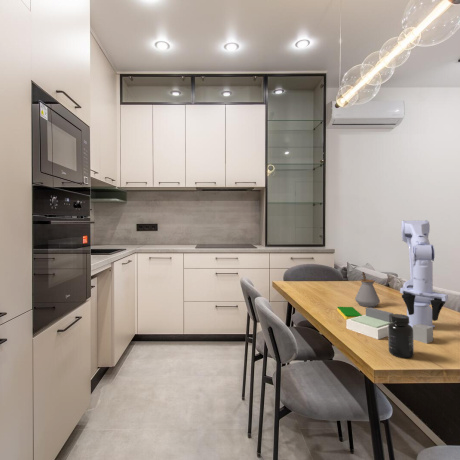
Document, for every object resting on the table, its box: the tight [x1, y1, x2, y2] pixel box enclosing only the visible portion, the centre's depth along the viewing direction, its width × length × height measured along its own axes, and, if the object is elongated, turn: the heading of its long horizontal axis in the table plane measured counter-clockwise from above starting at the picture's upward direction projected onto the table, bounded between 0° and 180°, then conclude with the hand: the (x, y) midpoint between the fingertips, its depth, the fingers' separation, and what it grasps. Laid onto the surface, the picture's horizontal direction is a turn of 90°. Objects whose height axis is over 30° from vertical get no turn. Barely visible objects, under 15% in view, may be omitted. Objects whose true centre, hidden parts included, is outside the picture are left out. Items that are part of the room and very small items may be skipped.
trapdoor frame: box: [345, 314, 388, 340], centre depth 110 cm, size 14×13×4 cm
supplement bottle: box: [387, 313, 415, 359], centre depth 89 cm, size 7×7×12 cm
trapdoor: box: [352, 307, 394, 328], centre depth 110 cm, size 11×10×4 cm
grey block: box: [413, 323, 434, 344], centre depth 100 cm, size 4×4×5 cm
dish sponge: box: [336, 306, 363, 321], centre depth 129 cm, size 7×14×2 cm, turn 173°
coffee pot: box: [354, 271, 381, 308], centre depth 150 cm, size 21×12×15 cm, turn 162°
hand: (422, 317), depth 100 cm, fingers open, 7 cm apart
